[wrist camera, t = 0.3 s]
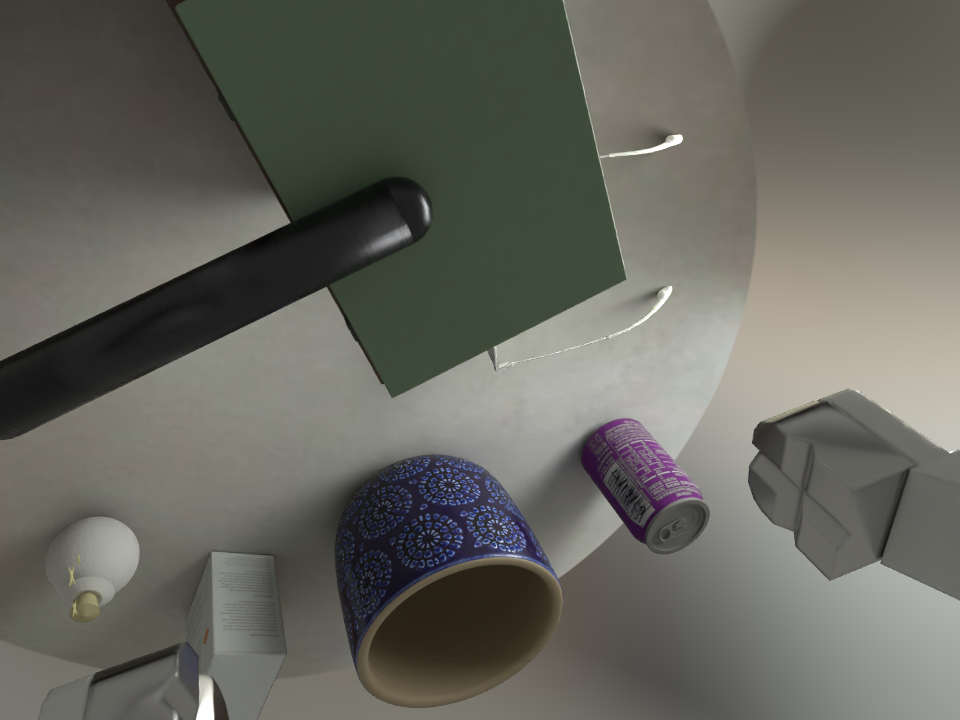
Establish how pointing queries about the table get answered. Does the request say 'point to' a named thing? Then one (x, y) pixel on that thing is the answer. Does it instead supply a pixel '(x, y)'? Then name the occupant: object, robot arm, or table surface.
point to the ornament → (91, 564)
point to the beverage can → (645, 486)
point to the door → (374, 192)
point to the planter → (441, 583)
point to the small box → (238, 629)
